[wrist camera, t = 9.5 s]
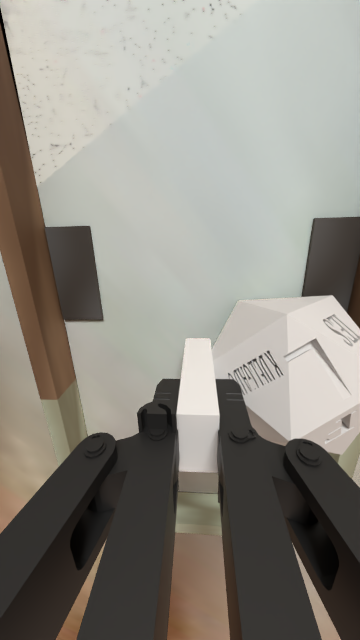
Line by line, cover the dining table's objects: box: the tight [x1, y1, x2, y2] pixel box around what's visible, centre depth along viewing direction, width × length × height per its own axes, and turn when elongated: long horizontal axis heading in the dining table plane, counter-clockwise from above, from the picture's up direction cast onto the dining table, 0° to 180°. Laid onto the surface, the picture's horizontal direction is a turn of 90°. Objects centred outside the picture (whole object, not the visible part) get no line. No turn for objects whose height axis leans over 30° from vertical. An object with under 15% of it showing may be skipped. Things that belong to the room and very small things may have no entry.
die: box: [212, 295, 360, 455], centre depth 13 cm, size 8×9×10 cm
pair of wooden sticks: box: [0, 8, 360, 536], centre depth 15 cm, size 21×34×2 cm, turn 2°
